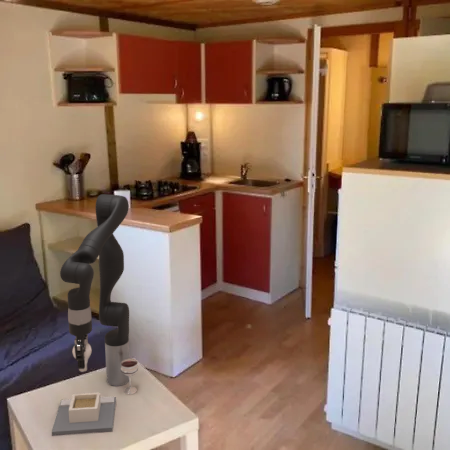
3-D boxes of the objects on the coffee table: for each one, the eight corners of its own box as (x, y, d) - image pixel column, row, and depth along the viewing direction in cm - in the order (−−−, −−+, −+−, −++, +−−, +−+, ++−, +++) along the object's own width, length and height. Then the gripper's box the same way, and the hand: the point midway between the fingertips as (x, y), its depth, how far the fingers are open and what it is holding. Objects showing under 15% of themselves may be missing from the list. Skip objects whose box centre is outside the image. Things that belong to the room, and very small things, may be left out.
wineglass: (141, 386, 203) (140, 358, 200) (136, 396, 196) (135, 368, 193) (124, 384, 204) (123, 357, 200) (119, 394, 197) (117, 366, 194)
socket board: (61, 403, 191) (59, 388, 189) (116, 400, 194) (115, 385, 192) (51, 435, 174) (50, 419, 172) (112, 431, 176) (111, 414, 175)
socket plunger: (76, 403, 186) (76, 399, 185) (96, 402, 187) (96, 398, 186) (73, 415, 179) (73, 411, 179) (94, 413, 180) (94, 410, 180)
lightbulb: (85, 364, 183) (83, 336, 180) (96, 370, 179) (94, 342, 176) (70, 371, 178) (68, 343, 176) (81, 378, 175) (79, 349, 172)
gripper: (71, 310, 180) (74, 353, 184) (65, 329, 166) (68, 375, 171) (93, 309, 181) (96, 352, 185) (89, 327, 167) (91, 373, 172)
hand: (82, 363), depth 178 cm, fingers closed on lightbulb, 6 cm apart
